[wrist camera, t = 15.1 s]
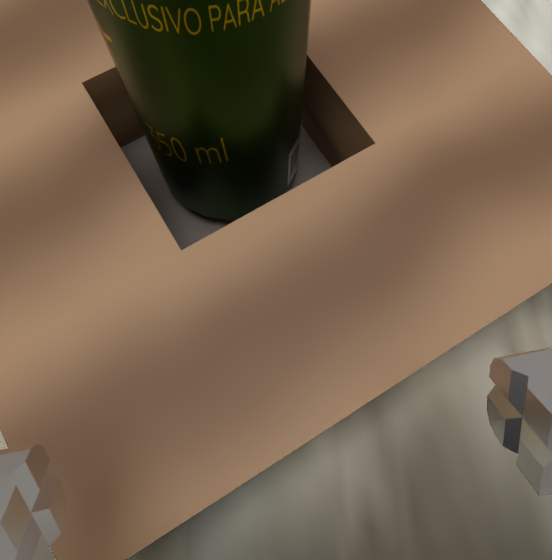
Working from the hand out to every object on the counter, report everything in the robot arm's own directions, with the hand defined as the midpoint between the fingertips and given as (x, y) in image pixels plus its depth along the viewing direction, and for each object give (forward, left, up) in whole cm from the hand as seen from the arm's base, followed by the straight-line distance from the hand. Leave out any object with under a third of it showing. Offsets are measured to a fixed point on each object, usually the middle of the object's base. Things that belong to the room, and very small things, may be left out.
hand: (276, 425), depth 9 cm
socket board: (+9, -4, -9) cm, 14 cm away
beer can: (+10, -4, -9) cm, 14 cm away
